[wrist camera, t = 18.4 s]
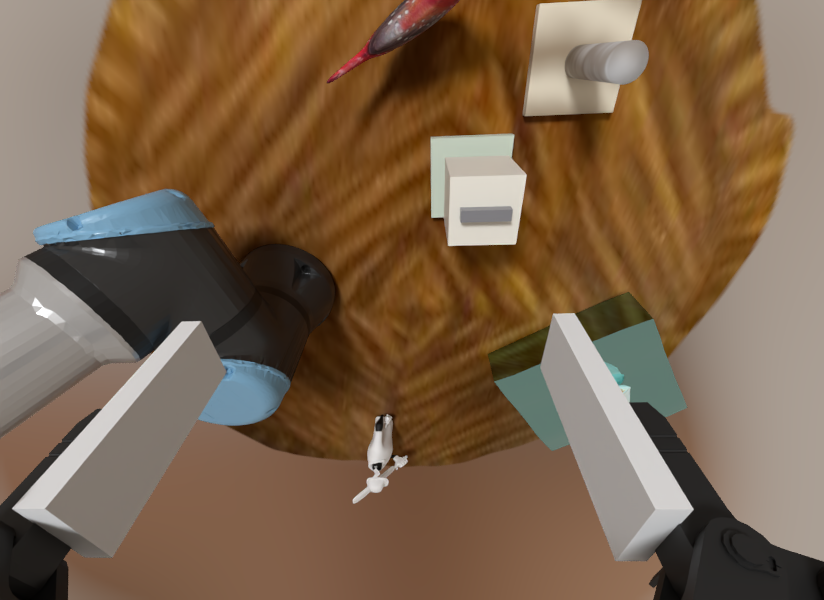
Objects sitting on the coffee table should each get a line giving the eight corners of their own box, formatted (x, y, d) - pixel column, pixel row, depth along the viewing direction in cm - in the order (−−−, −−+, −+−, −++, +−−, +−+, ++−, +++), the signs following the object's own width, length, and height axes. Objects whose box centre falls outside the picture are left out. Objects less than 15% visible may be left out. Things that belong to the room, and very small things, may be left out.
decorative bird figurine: (486, -13, 35) (506, -36, 26) (346, 92, 40) (327, 101, 32) (473, -47, 33) (491, -82, 25) (330, 67, 39) (306, 69, 31)
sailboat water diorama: (625, 287, 55) (691, 360, 42) (663, 376, 67) (724, 456, 53) (487, 352, 64) (505, 429, 51) (541, 420, 76) (567, 499, 62)
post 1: (503, 212, 48) (524, 251, 38) (431, 214, 48) (434, 254, 39) (512, 133, 42) (539, 156, 32) (430, 136, 43) (433, 160, 33)
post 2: (608, 111, 41) (667, 127, 31) (522, 114, 41) (554, 132, 31) (636, -1, 35) (720, -24, 25) (536, 5, 35) (581, -16, 26)
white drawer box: (443, 217, 43) (448, 250, 36) (445, 157, 39) (450, 180, 32) (501, 216, 43) (518, 248, 36) (508, 155, 39) (529, 177, 32)
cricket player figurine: (407, 440, 80) (405, 510, 67) (363, 437, 79) (352, 506, 67) (413, 404, 72) (412, 475, 60) (364, 401, 72) (352, 471, 60)
